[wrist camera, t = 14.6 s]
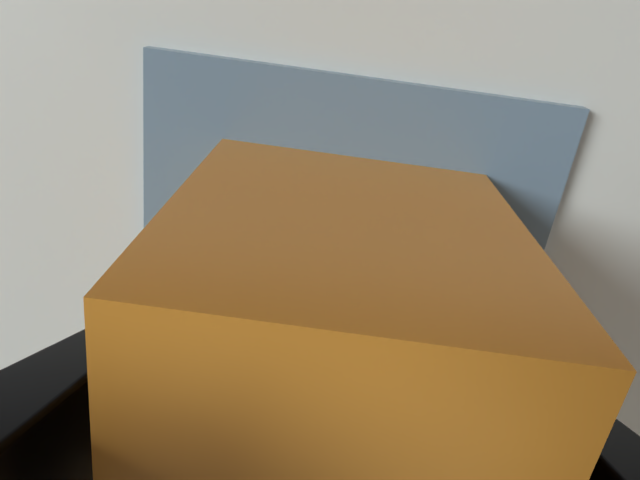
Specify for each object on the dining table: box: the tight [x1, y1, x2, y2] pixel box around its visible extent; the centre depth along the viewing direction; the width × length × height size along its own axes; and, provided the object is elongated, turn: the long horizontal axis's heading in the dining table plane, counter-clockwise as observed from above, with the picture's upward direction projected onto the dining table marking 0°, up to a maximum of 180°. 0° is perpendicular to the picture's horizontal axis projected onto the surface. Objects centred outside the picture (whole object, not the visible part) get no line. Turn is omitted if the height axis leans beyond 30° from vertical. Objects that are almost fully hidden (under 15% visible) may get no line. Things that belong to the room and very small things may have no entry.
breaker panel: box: [0, 0, 640, 436], centre depth 14 cm, size 20×16×2 cm
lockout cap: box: [83, 139, 637, 480], centre depth 9 cm, size 5×5×6 cm
